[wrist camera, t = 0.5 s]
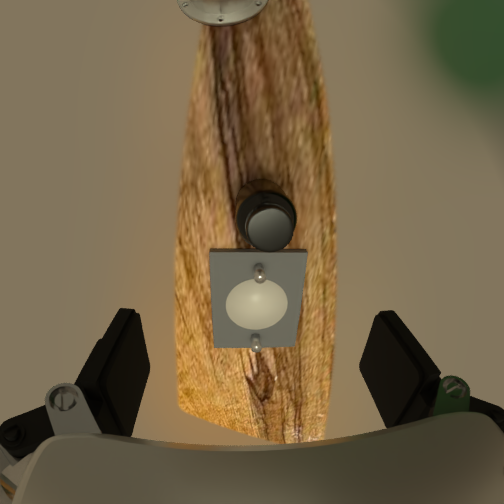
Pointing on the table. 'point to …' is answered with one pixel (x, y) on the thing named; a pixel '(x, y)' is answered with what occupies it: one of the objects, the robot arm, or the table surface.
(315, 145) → the table surface
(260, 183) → the supplement bottle
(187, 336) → the table surface
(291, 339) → the board
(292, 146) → the table surface
